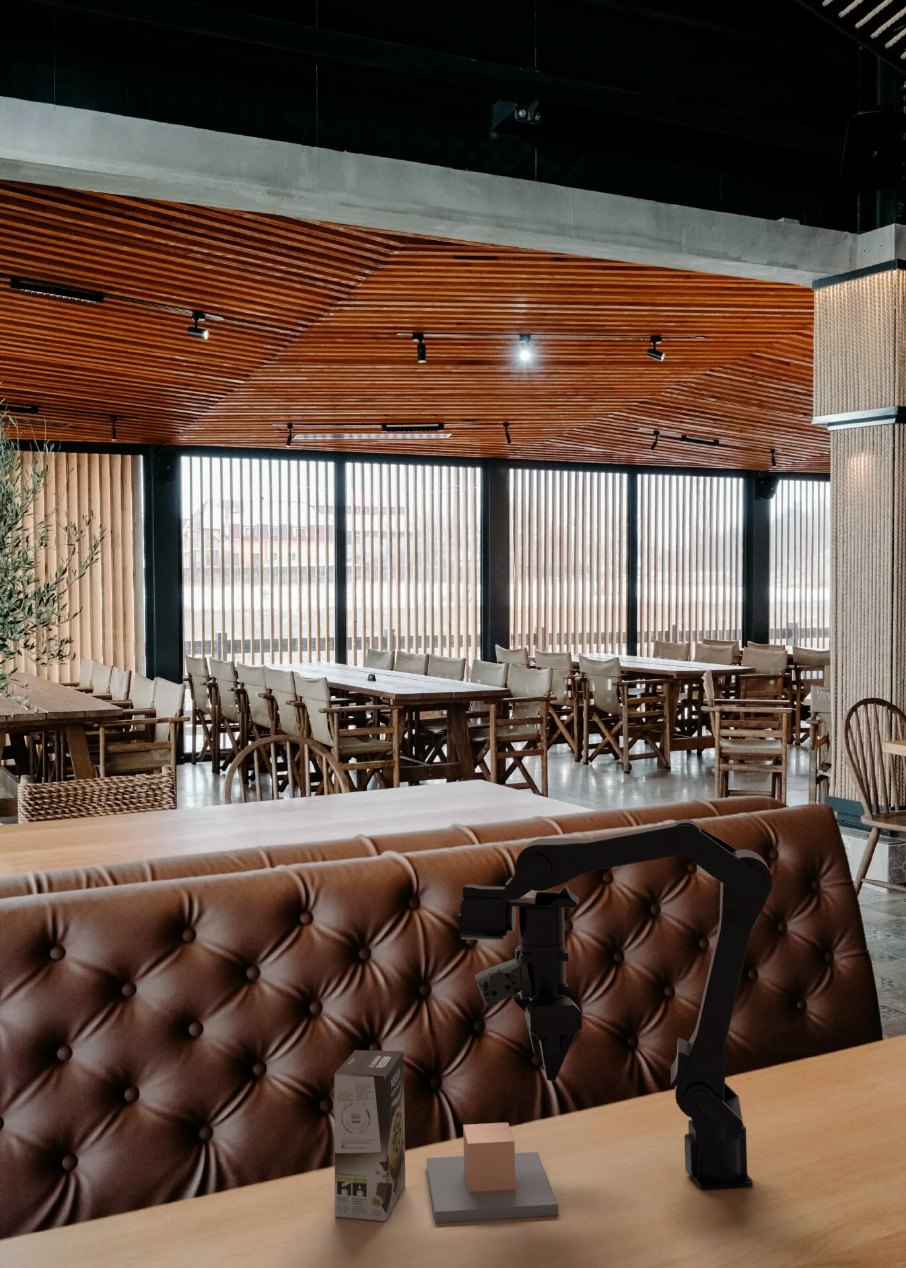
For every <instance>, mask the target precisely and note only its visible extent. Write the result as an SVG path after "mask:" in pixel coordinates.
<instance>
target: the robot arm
mask: <svg viewBox="0 0 906 1268" xmlns="http://www.w3.org/2000/svg"><path fill="white" fill-rule="evenodd" d="M676 856H685V857H686V858H687V859H689V860H691V862H693V863H695V864H696V865H697V866H698V867H699V868H701V869H703V871H705V872H706V873H707V874H709V876H712V877H713V878H714V879H715V880H717V881H718V882H720V885H719V886H720V889H719V891H720V893H719V923H718V928H717V932H716V936H715V941H714V945H713V950H712V955H711V958H710V963H709V968H708V973H707V976H706V980H705V985H704V989H703V990H704V991H703V994H702V999H701V1004H700V1008H699V1012H698V1015H697V1016H698V1017H697V1021H696V1026H695V1029H694V1031H693V1033H692V1034H691V1036H690V1038H689V1040H688V1041H687V1040H685V1039H683V1038H681V1037H678V1038H677V1048H676V1049H677V1050H676V1051H677V1052H676V1056H675V1060H674V1061H673V1063H672V1065H670V1086H671V1087H672V1088H674V1089H675V1093H674V1095H675V1101H676V1104H677V1106H678V1108H679V1109H680V1111H681V1112H682V1113H683V1114H685V1116H687V1117H689V1118H690V1119H689V1120H687V1123H688V1127H687V1128H688V1133H685V1135H683V1136H684V1168H685V1169H686V1171H687V1172H688V1174H689V1175H690V1177H692V1178H693V1181H694V1182H695V1183H696V1184H697V1186H698V1187H699V1188H701V1189H705V1190H706V1189H721V1188H723V1189H724V1188H735V1187H736V1188H737V1187H738V1188H739V1187H751V1186H754V1184H753V1183H754V1182H753V1181H754V1180H753V1179H752V1178H751V1176H750V1175H749V1174H748V1158H747V1157H748V1149H747V1127H746V1125H744V1120H743V1114H742V1108H741V1101H740V1097H739V1095H738V1094H737V1093H736V1092H735V1091H734V1090H733V1089H732V1088H731V1087H730V1085H728V1084H727V1083H726V1052H727V1051H726V1049H727V1048H726V1045H727V1040H728V1035H729V1033H730V1032H729V1031H730V1027H731V1022H732V1019H733V1018H732V1017H733V1013H734V1009H735V1004H736V1001H737V1000H736V999H737V996H738V991H739V986H740V983H741V977H742V972H743V969H744V965H745V961H746V955H747V951H748V946H749V943H750V937H751V935H752V932H753V930H754V928H755V927H756V924H757V923H758V921H759V919H760V917H761V915H762V913H763V911H764V908H765V906H766V905H767V904H766V903H767V901H768V899H769V897H770V896H771V892H772V889H773V874H772V872H771V870H770V869H769V866H768V864H767V863H766V861H765V860H764V858H763V857H762V856H761V855H760V854H759V853H757V852H756V851H753V850H750V849H737V848H735V847H734V846H732V845H730V844H729V843H727V842H726V841H725V840H723V839H721V838H719V837H717V836H715V835H714V834H713V833H710V832H709V831H707V830H705V829H704V828H702V827H701V826H700V825H699V824H698V823H697V822H696V821H694V820H691V819H689V818H686V819H685V818H684V819H683V818H681V819H679V820H677V821H675V822H672V823H667V824H661V825H656V826H650V827H645V828H641V829H635V830H629V831H624V832H619V833H614V834H608V835H604V836H603V835H602V836H598V837H593V838H585V839H584V838H567V837H557V838H556V837H554V838H552V837H550V838H547V837H546V838H545V837H544V838H543V837H542V838H537V839H534V840H532V841H530V842H529V843H527V844H526V846H525V847H524V848H523V849H522V850H521V852H520V853H519V855H518V856H517V859H516V862H515V872H516V873H515V874H514V876H513V877H510V878H509V879H508V880H507V881H506V882H505V884H504V885H505V886H492V885H491V886H489V885H488V886H487V885H485V886H484V885H478V884H470V883H467V884H466V885H464V886H463V887H462V898H461V904H460V913H459V914H458V929H459V930H458V931H459V936H460V938H461V940H478V941H479V940H483V941H506V940H507V937H508V933H515V931H516V926H517V925H516V924H517V911H516V910H517V909H516V907H518V916H519V917H518V920H519V921H518V925H519V926H518V929H519V931H518V933H519V945H516V948H515V949H514V958H513V959H510V960H508V961H507V960H506V961H505V962H503V961H502V962H501V963H499V964H496V965H494V966H491V967H489V968H487V969H484V970H482V971H479V972H477V973H476V974H475V975H474V979H475V982H476V985H477V987H478V990H479V992H480V995H481V998H482V1000H483V1002H484V1005H485V1006H486V1007H488V1008H489V1007H493V1006H496V1005H498V1003H499V1002H501V1001H503V1000H505V999H508V998H510V997H512V999H513V1002H514V1003H515V1004H516V1005H517V1006H518V1007H519V1008H520V1009H521V1010H522V1011H523V1012H524V1015H525V1020H526V1027H527V1029H528V1033H529V1038H530V1041H531V1047H532V1051H533V1054H534V1055H535V1056H541V1059H542V1063H543V1068H544V1074H545V1077H546V1080H547V1081H549V1082H550V1081H551V1082H553V1081H556V1080H557V1078H558V1077H559V1076H558V1075H559V1073H560V1071H561V1068H562V1066H563V1064H564V1062H565V1059H566V1057H567V1055H568V1052H569V1050H570V1049H571V1046H572V1043H573V1042H574V1040H575V1037H576V1035H577V1034H579V1032H580V1030H581V1029H582V1028H583V1014H582V1011H581V1009H580V1008H579V1006H578V1005H577V1004H576V1003H575V1001H573V1000H572V999H571V998H570V997H568V996H570V986H569V984H568V983H567V982H566V981H567V980H566V962H569V953H568V951H567V949H566V940H565V938H566V937H565V934H566V933H565V908H566V909H568V908H569V909H575V908H577V907H578V905H579V902H580V897H578V896H577V895H576V894H575V893H574V892H572V891H571V890H570V888H569V886H568V885H565V883H568V882H570V881H573V880H574V879H575V880H576V879H577V878H579V877H581V876H583V875H587V874H589V873H591V872H595V871H600V870H605V869H610V868H611V869H613V868H615V867H621V866H629V865H634V864H638V863H643V862H650V861H653V860H661V859H665V858H671V857H676ZM563 884H564V886H563V887H562V888H561V889H560V890H559V891H546V890H549V889H553V888H555V887H557V886H560V885H563ZM531 891H535V892H536V893H535V897H524V896H525V895H527V894H528V893H530V892H531ZM560 996H561V997H560ZM565 996H566V997H565Z"/></svg>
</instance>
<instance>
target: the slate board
mask: <svg viewBox="0 0 906 1268" xmlns="http://www.w3.org/2000/svg"><path fill="white" fill-rule="evenodd" d="M426 1171H427V1172H426V1173H427V1180H428V1183H429V1184H428V1185H429V1186H428V1187H429V1192H430V1198H431V1205H432V1210H433V1218H434V1223H435V1224H436V1223H437V1224H438V1223H451V1222H453V1223H454V1222H468V1221H484V1220H499V1219H500V1220H501V1219H514V1218H515V1219H516V1218H518V1219H519V1218H530V1217H531V1218H534V1217H547V1216H548V1217H549V1216H550V1217H551V1216H559V1202H558V1200H557V1198H556V1196H555V1192H554V1190H553V1187H552V1185H551V1182H550V1179H549V1177H548V1176H547V1172H546V1170H545V1167H544V1164H543V1162H542V1159H541V1157H540V1154H539V1153H538V1151H530V1152H515V1189H511V1190H494V1191H477V1192H469V1191H468V1187H467V1182H466V1178H465V1173H464V1155H460V1156H456V1155H455V1156H441V1157H427V1158H426Z"/></svg>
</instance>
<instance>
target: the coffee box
mask: <svg viewBox="0 0 906 1268" xmlns="http://www.w3.org/2000/svg"><path fill="white" fill-rule="evenodd" d="M404 1053H405V1052H404V1051H403V1050H402V1051H399V1050H374V1049H373V1050H363V1049H362V1050H361V1049H359V1050H358V1049H355V1050H354V1051H353V1052H352V1053H351V1054H350V1055H349V1057H348V1058H347V1059H346V1060H345V1061H344V1062H343V1063H342V1064H341V1066H340V1067H339V1068H338V1069H336V1072H335V1073H333V1075H334V1076H333V1077H334V1081H333V1083H334V1084H333V1086H334V1087H333V1090H334V1093H333V1095H334V1096H333V1098H334V1099H333V1101H334V1103H333V1104H334V1105H333V1106H334V1107H333V1110H334V1112H333V1113H334V1115H333V1117H334V1123H333V1124H334V1131H333V1133H334V1135H333V1136H334V1216H335V1217H337V1218H346V1219H347V1218H349V1219H357V1220H365V1221H366V1220H368V1221H376V1222H377V1221H378V1222H385V1221H387V1220H388V1218H389V1217H390V1214H391V1213H392V1211H393V1209H394V1207H395V1206H396V1204H397V1202H398V1201H399V1198H400V1197H401V1195H402V1193H403V1191H404V1189H405V1187H406V1147H405V1146H406V1140H405V1137H406V1135H405V1133H406V1132H405V1130H406V1129H405V1068H404V1067H405V1066H404V1064H405V1062H404V1056H405V1055H404Z"/></svg>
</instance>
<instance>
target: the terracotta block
mask: <svg viewBox="0 0 906 1268" xmlns="http://www.w3.org/2000/svg"><path fill="white" fill-rule="evenodd" d="M462 1127H463V1129H462V1130H463V1132H462V1133H463V1135H462V1136H463V1138H462V1139H463V1156H464V1173H465V1178H466V1182H467V1187H468V1191H469V1192H477V1191H494V1190H511V1189H515V1153H516V1150H515V1149H516V1148H515V1146H516V1145H515V1138H514V1136H513V1133H512V1129H511V1127H510V1124H509V1122H493V1123H476V1124H473V1123H471V1124H463V1125H462Z"/></svg>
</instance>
